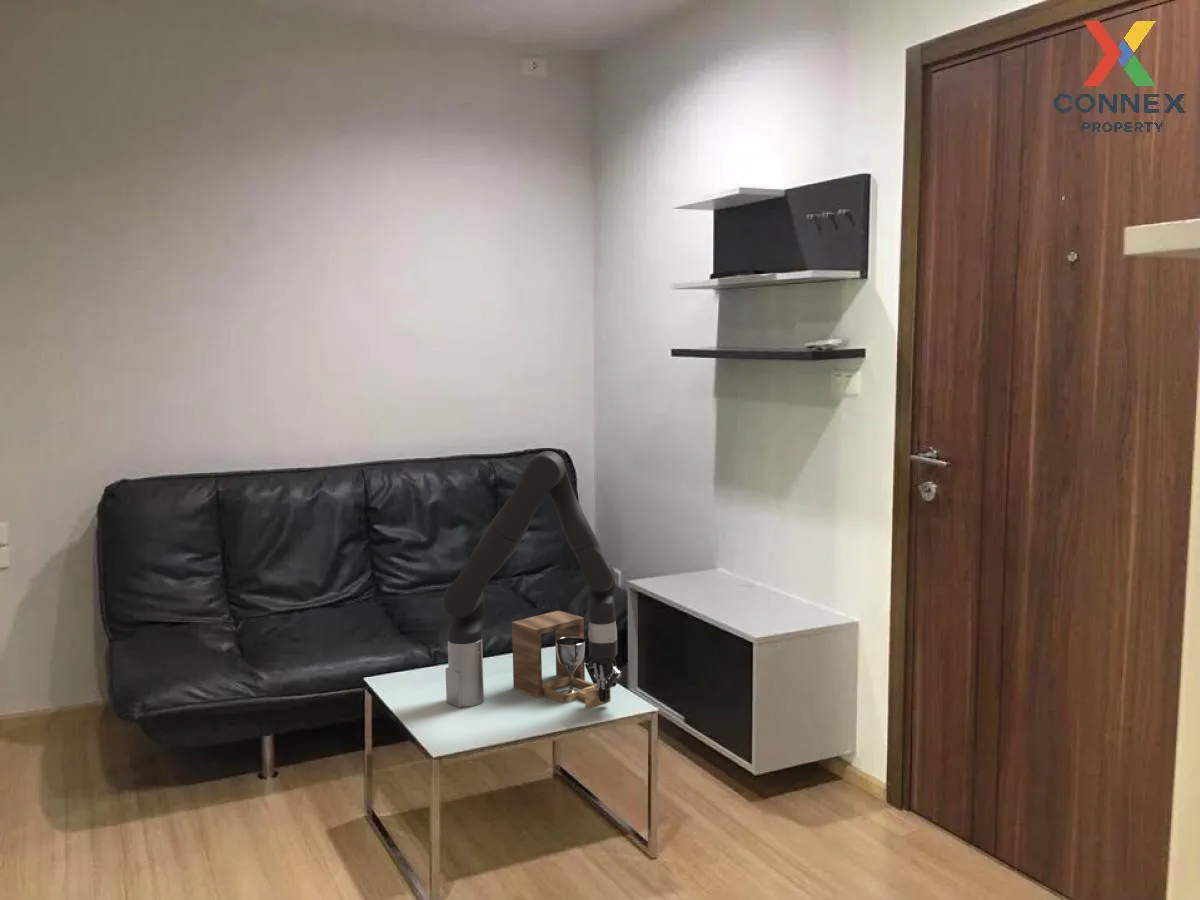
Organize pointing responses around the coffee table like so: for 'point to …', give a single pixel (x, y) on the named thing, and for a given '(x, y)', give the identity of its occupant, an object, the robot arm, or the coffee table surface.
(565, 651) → the wine glass
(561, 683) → the drawer
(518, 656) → the wooden arch frame
